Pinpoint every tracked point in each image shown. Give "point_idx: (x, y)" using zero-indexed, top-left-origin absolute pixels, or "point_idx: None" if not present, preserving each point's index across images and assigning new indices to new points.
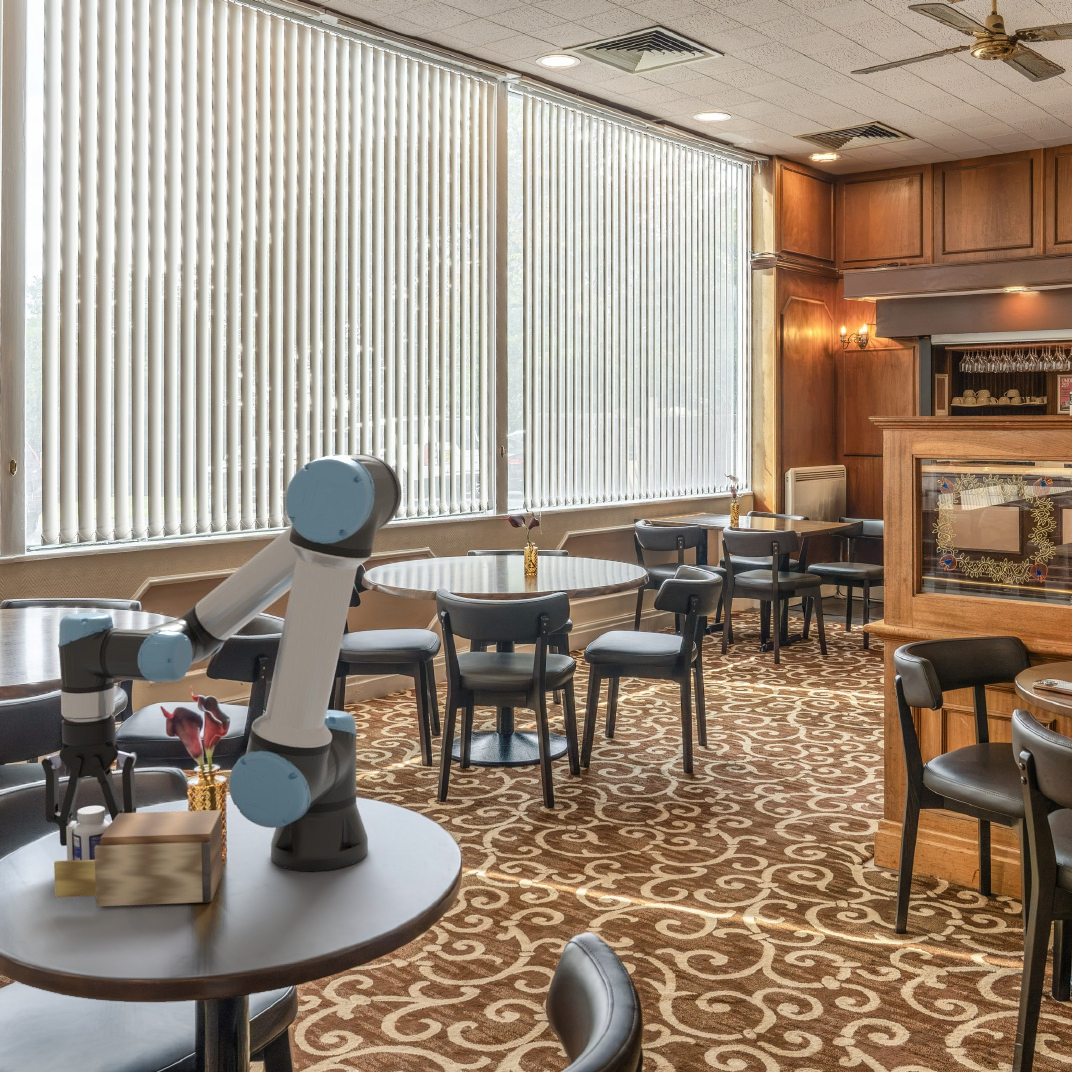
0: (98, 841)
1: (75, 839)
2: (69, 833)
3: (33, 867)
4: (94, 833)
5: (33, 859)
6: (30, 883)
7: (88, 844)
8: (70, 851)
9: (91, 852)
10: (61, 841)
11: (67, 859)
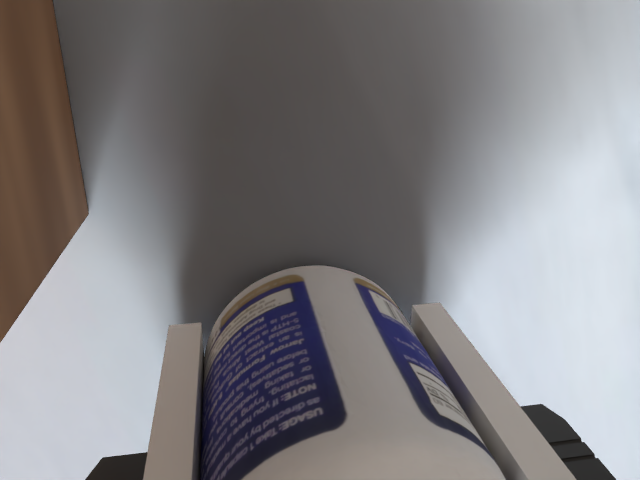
0: (260, 410)
1: (464, 419)
2: (538, 466)
3: (604, 361)
4: (300, 458)
5: (612, 442)
6: (599, 162)
7: (338, 369)
8: (464, 366)
9: (304, 333)
10: (559, 426)
11: (461, 331)
